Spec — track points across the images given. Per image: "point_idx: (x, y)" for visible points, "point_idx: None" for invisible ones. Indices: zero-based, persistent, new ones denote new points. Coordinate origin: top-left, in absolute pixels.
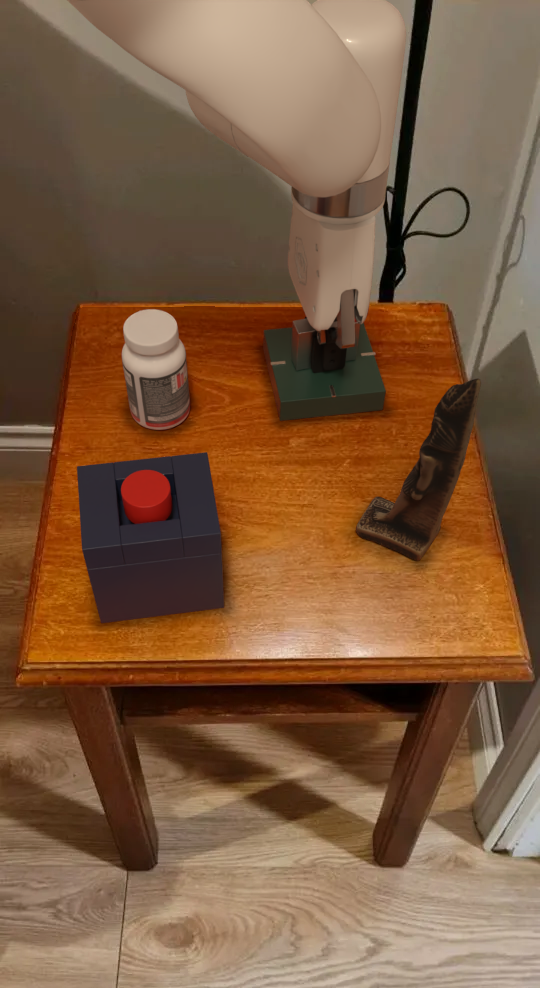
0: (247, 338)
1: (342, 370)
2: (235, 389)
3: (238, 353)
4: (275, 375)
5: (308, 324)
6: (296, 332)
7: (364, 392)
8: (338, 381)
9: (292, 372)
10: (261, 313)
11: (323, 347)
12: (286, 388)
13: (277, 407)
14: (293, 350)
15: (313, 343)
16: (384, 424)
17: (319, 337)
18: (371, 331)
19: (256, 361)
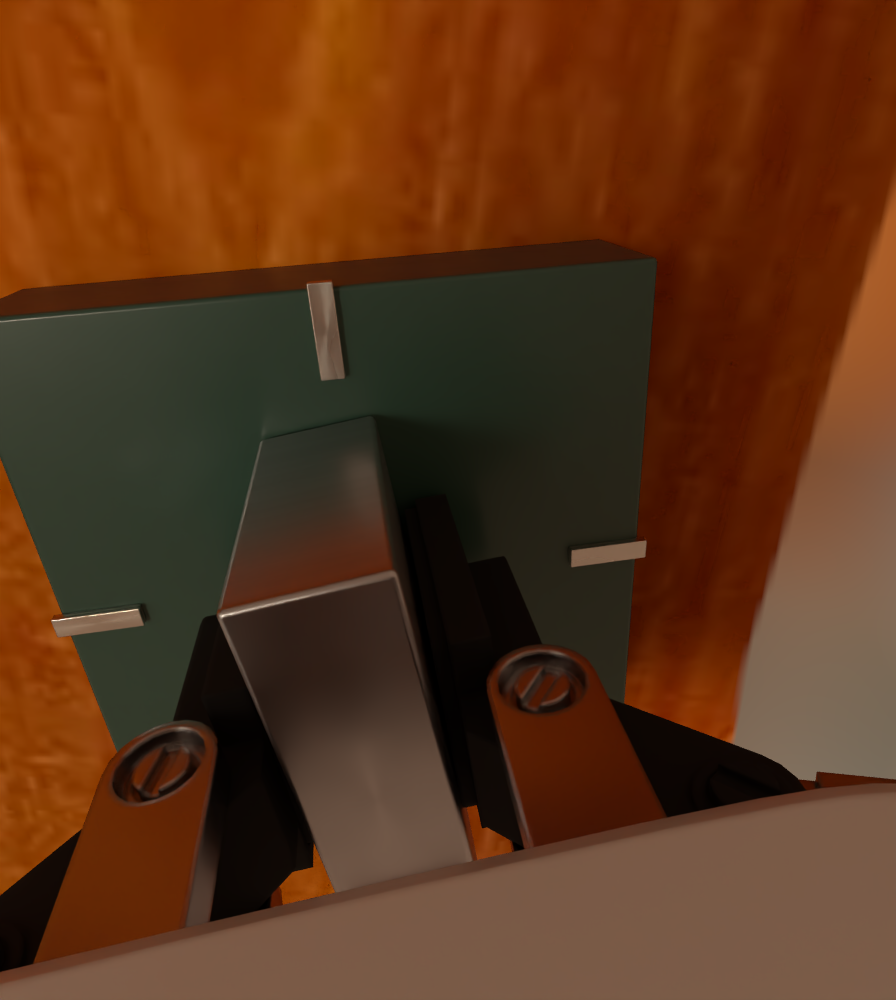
0: (708, 149)
1: None
2: (277, 15)
3: (597, 75)
4: (214, 305)
5: (338, 689)
6: (271, 582)
7: (121, 747)
8: (189, 646)
9: (251, 415)
10: (871, 252)
11: (205, 709)
12: (93, 369)
13: (100, 285)
14: (325, 465)
15: (233, 657)
16: (87, 732)
17: (173, 762)
18: (626, 701)
19: (515, 188)
